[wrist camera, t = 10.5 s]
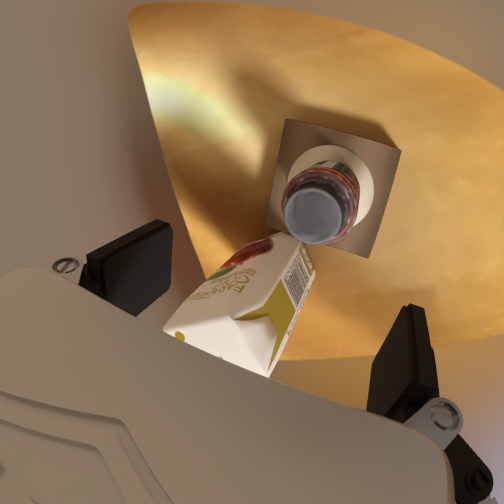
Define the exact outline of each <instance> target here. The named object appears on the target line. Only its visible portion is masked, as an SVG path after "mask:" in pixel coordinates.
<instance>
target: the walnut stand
mask: <svg viewBox="0 0 504 504" xmlns="http://www.w3.org/2000/svg"><path fill="white" fill-rule="evenodd" d="M401 151H402V150H400V149H398V148H395V147H392V146H389V145H386V144H383V143H379V142H376V141H373V140H370V139H366V138H363V137H360V136H356V135H353V134H349V133H345V132H342V131H338V130H334V129H330V128H326V127H322V126H318V125H314V124H309V123H305V122H300V121H296V120H291V119H285V124H284V129H283V134H282V139H281V145H280V150H279V155H278V160H277V165H276V170H275V175H274V180H273V185H272V190H271V196H270V201H269V206H268V211H267V216H266V221H265V226H267V227H270V228H273V229H277V230H280V231H283V232H286V233H290V232H289V230H288V229H287V227H286V225H285V220H284V218H283V215H282V210H281V200H282V195H283V192H284V190H285V187H286V186H287V184H288V183H289V182H290V180H291V179H292V178H293V177H294V176H296V175H297V174H299V173H300V172H302V171H304V170H306V169H307V168H309V167H311V166H313V165H315V164H316V163H319V162H322V161H328V160H330V161H337V162H341V163H343V164H345V165H346V166H347V167H349V168H350V169H351V170H352V171H353V172H354V174H355V175H356V177H357V179H358V182H359V185H360V199H359V208H358V213H357V218H356V221H355V223H354V225H353V227H352V228H351V230H350V231H349V232H348V233H347V234H346V235H345V236H344V237H343V238H341V239H339V240H337V241H335V242H333V243H329V244H325V245H328V246H331V247H334V248H337V249H340V250H343V251H346V252H349V253H352V254H356V255H359V256H362V257H365V258H369V256H370V253H371V250H372V247H373V244H374V241H375V238H376V236H377V233H378V230H379V227H380V224H381V220H382V217H383V214H384V211H385V208H386V205H387V201H388V198H389V195H390V191H391V188H392V184H393V181H394V177H395V173H396V170H397V166H398V162H399V158H400V155H401ZM290 234H291V233H290Z"/></svg>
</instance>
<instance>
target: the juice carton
mask: <svg viewBox="0 0 504 504" xmlns="http://www.w3.org/2000/svg"><path fill="white" fill-rule="evenodd" d="M314 276H315V269H314V267H313V264H312V262H311V260H310V257H309V255H308V253H307V251H306V248H305V246H304V244H303V242H301V241H299V240H298V239H296V238H295V237H294V236H293V235H292V234H290V233H286V232H283V231H281V232H278V233H276V234H273V235H271V236H269V237H267V238H265V239H263V240H259V241H254V242H252V243H249V244H247V245H245V246H243V247H242V248H241V249H240V250H238V251H237V252H236V253H235V254H234V255H233V256H232V257H231V258H230V259H229V260H228V261H227V262H226V263H224V264H223V265H222V266H221V267H220V268H219V269H218V270H217V271H216V272H215V273H214V274H213V275H212V276H211V277H209V278H208V279H207V280H206V281H205V282H204V283H203V284H202V285H201V286H200V287H199V288H198V289H197V290H196V291H195V292H194V293H193V294H192V295H190V296H189V297H188V298H187V299H186V300H185V301H184V302H183V303H182V305H181V306H180V307H179V308H178V309H177V311H176V312H175V313H174V315H173V316H172V317H171V319H170V320H169V321H168V323H167V324H166V325H165V326H164V327H163V328H162V329H163V331H164V332H165V333H167V334H169V335H171V336H174V337H176V338H178V339H180V340H182V341H184V342H186V343H188V344H190V345H192V346H194V347H197V348H199V349H201V350H203V351H205V352H208V353H210V354H212V355H214V356H217V357H219V358H221V359H223V360H226V361H228V362H231V363H233V364H235V365H238V366H240V367H243V368H245V369H247V370H250V371H252V372H255V373H257V374H260V375H263V376H265V377H268V378H269V376H270V374H271V372H272V370H273V368H274V366H275V365H276V363H277V361H278V359H279V357H280V355H281V353H282V351H283V349H284V347H285V344H286V342H287V340H288V338H289V335H290V333H291V331H292V329H293V326H294V324H295V322H296V319H297V317H298V315H299V313H300V310H301V308H302V305H303V303H304V301H305V298H306V296H307V293H308V291H309V289H310V286H311V284H312V281H313V279H314Z"/></svg>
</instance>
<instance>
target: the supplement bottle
mask: <svg viewBox="0 0 504 504" xmlns="http://www.w3.org/2000/svg"><path fill="white" fill-rule="evenodd" d="M359 199H360V185H359V182H358V179H357V177H356V175H355V174H354V172H353V171H352V170H351V169H350V168H349V167H347V166H346V165H345V164H343V163H341V162H337V161H330V160H328V161H322V162H319V163H316V164H315V165H313V166H311V167H309V168H307V169H306V170H304V171H302V172H300V173H299V174H297V175H296V176H294V177H293V178H292V179H291V180H290V182H289V183H288V184H287V186H286V187H285V190H284V192H283V195H282V200H281V210H282V215H283V218H284V220H285V225H286V227H287V229H288V230H289V232H290V233H291V234H292V235H293V236H294V237H295V238H296V239H298V240H299V241H301V242H303V243H306V244H311V245H317V244H329V243H333V242H335V241H337V240H339V239H341V238H343V237H344V236H345V235H346V234H347V233H348V232H349V231H350V230H351V228H352V227H353V225H354V223H355V221H356V218H357V213H358V208H359Z"/></svg>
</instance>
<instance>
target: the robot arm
mask: <svg viewBox="0 0 504 504" xmlns="http://www.w3.org/2000/svg"><path fill="white" fill-rule="evenodd" d="M172 240H173V229H172V228H171V226H170V224H169V223H167V222H163V221H161V220H158V219H156V220H154V221H152V222H150V223H148V224H146V225H143V226H141V227H140V228H137V229H135V230H133V231H131V232H129V233H127V234H125V235H123V236H121V237H119V238H118V239H116V240H113V241H112V242H110V243H108V244H106V245H104V246H102V247H100V248H98V249H96V250H94V251H92V252H91V253H89V254H87V255H86V256H87V263H86V264H84V263H83V261H82V259H80V258H79V257H76V256H63V257H59V258H57V259H55V260H53V261H52V262H51V263H50V264H49V266H48V268H47V270H44V269H39V268H31V267H24V268H19V269H17V270H14V271H12V272H10V273H8V274H5V275H4V276H2V277H0V504H498V503H497V501H496V498H495V497H494V498H492V499H491V498H490V493H491V491H492V488H493V477H492V474H491V472H490V470H489V469H488V467H487V466H486V465H485V464H484V463H483V461H482V460H481V459H480V458H479V457H478V456H477V454H476V453H475V452H474V451H473V450H472V449H471V448H470V447H469V445H468V444H467V443H466V442H465V441H464V439H463V438H462V437H461V436H460V435H459V434H458V433H459V432H460V430H461V428H462V426H463V417H462V414H461V412H460V409H459V408H458V407H457V406H456V405H455V404H454V403H453V402H452V401H450V400H448V399H446V398H441V397H439V387H438V378H437V370H436V363H435V356H434V351H433V348H432V347H431V344H430V338H429V332H428V326H427V321H426V316H425V311H424V308H422V307H419V306H416V305H413V304H409V305H408V306H403V307H402V309H401V310H400V312H399V314H398V316H397V318H396V320H395V322H394V324H393V326H392V328H391V330H390V332H389V334H388V335H387V337H386V339H385V341H384V343H383V344H382V346H381V348H380V350H379V352H378V353H377V355H376V357H375V359H374V361H373V363H372V368H371V377H370V385H369V394H368V401H367V408H366V411H364V410H361V409H358V408H355V407H352V406H349V405H346V404H343V403H339V402H336V401H333V400H330V399H327V398H323V397H321V396H318V395H314V394H311V393H309V392H306V391H303V390H300V389H297V388H294V387H292V386H289V385H286V384H284V383H281V382H278V381H276V380H273V379H270V378H268V377H265V376H263V375H260V374H257V373H255V372H252V371H250V370H247V369H245V368H243V367H240V366H238V365H235V364H233V363H231V362H228V361H226V360H223V359H221V358H219V357H217V356H214V355H212V354H210V353H208V352H205V351H203V350H201V349H199V348H197V347H194V346H192V345H190V344H188V343H186V342H184V341H182V340H180V339H178V338H176V337H174V336H171V335H169V334H167V333H165V332H163V331H161V330H159V329H158V328H156V327H154V326H152V325H150V324H148V323H146V322H144V321H142V320H140V319H138V318H136V316H137V315H139V314H140V313H141V312H142V311H143V310H144V309H146V308H147V307H148V306H149V305H150V304H152V303H153V302H154V301H155V300H156V299H158V298H159V297H160V296H161V295H163V294H164V293H165V292H166V291H167V290H168V289H169V287H170V284H171V262H172V261H171V260H172Z"/></svg>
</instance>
